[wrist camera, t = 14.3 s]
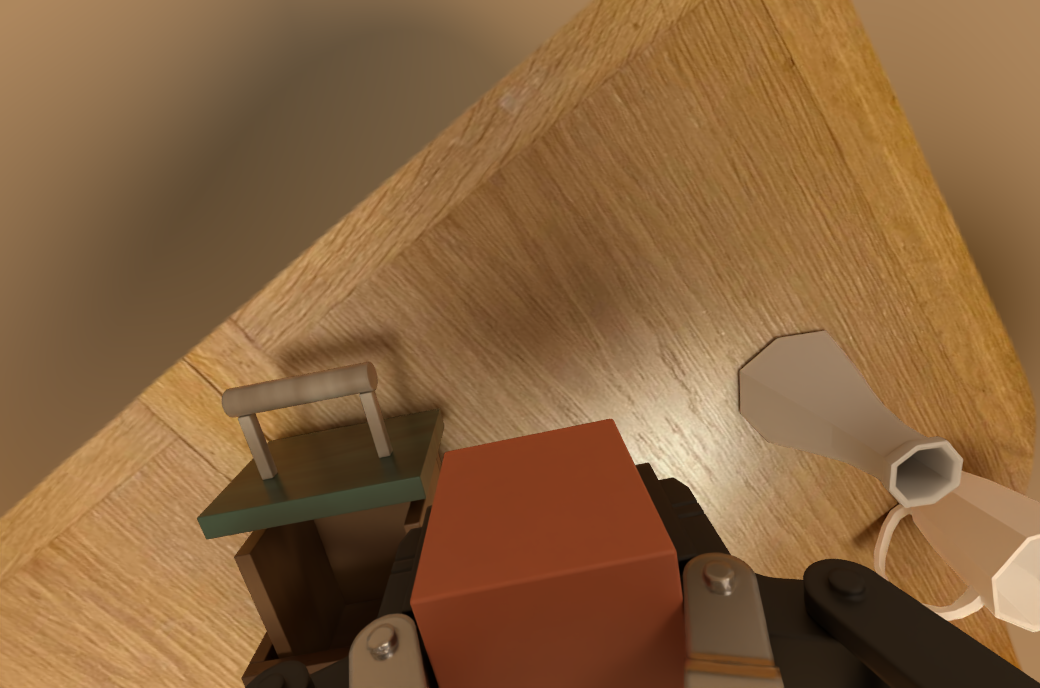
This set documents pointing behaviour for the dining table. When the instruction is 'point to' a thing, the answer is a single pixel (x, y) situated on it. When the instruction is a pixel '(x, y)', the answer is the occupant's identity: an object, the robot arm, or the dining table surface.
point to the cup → (981, 548)
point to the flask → (842, 418)
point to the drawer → (324, 507)
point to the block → (549, 568)
